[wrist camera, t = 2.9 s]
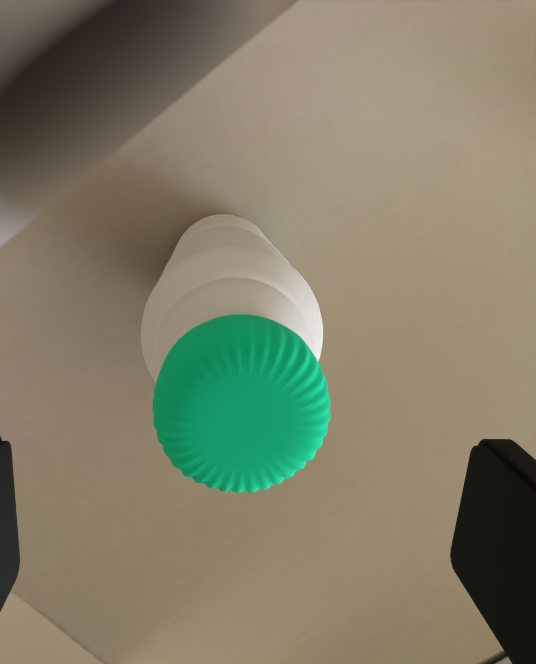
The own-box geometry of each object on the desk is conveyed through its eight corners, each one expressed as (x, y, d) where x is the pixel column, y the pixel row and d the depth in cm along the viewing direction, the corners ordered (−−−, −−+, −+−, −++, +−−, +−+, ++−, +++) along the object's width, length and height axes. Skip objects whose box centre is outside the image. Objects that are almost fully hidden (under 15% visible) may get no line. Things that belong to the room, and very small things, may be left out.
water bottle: (268, 208, 36) (379, 270, 12) (276, 305, 38) (385, 523, 14) (167, 218, 35) (71, 303, 11) (181, 315, 37) (126, 560, 13)
